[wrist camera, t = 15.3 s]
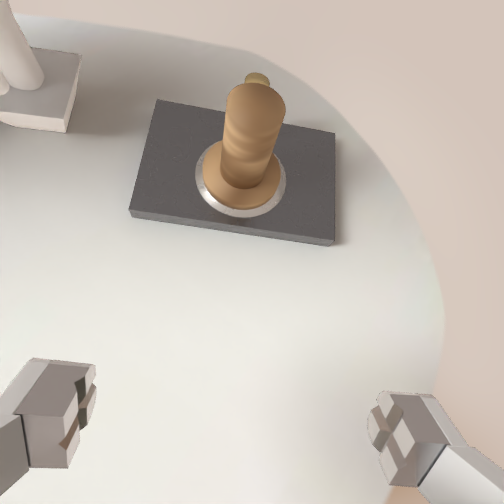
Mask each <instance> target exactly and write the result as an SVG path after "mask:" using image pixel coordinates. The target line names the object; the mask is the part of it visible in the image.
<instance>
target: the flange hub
mask: <svg viewBox="0 0 504 504" xmlns="http://www.w3.org/2000/svg"><path fill="white" fill-rule="evenodd" d="M284 116H285V104H284V101H283V99H282V98H281V96H280V95H279V94H278V93H277V92H276V91H275V90H273V89H272V88H270V87H268V86H266V85H263V84H260V83H244V84H241V85H238V86H237V87H235V88H234V89H233V90H232V91H231V92H230V93H229V95H228V98H227V105H226V114H225V124H224V133H223V140H221V141H219V142H217V143H216V144H214V145H213V146H212V147H211V148H210V149H209V150H208V152H207V153H206V155H205V158H204V161H203V181H204V185H205V187H206V189H207V191H208V192H209V194H210V195H211V196H212V197H213V198H214V199H215V200H216V201H218V202H219V203H221V204H222V205H224V206H226V207H229V208H232V209H237V210H250V209H255V208H258V207H260V206H262V205H264V204H266V203H267V202H268V201H269V200H270V199H271V198H272V197H273V196H274V194H275V192H276V190H277V188H278V185H279V183H280V178H281V170H280V165H279V162H278V160H277V158H276V157H275V155H274V154H273V152H272V151H273V148H274V145H275V142H276V139H277V136H278V133H279V130H280V128H281V125H282V122H283V119H284Z"/></svg>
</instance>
